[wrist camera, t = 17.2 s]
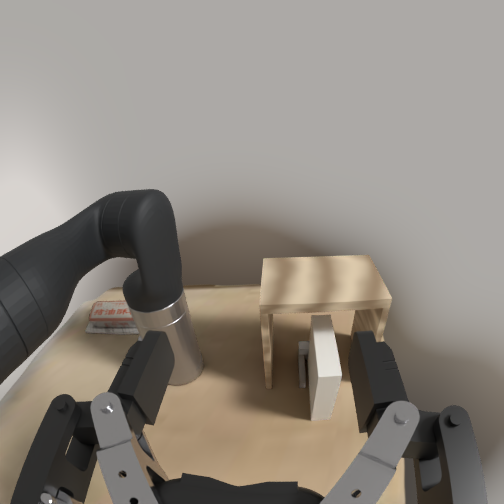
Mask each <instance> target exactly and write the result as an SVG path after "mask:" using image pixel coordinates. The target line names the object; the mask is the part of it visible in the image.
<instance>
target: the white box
mask: <svg viewBox="0 0 504 504" xmlns="http://www.w3.org/2000/svg"><path fill="white" fill-rule="evenodd" d="M308 378H309V393H310V410H311V421H315V420H329V419H330V418H331V415H332V411H333V408H334V404H335V401H336V397H337V393H338V390H339V386H340V382H341V378H342V372H341V366H340V361H339V355H338V350H337V345H336V340H335V334H334V329H333V325H332V320H331V315H312V316H311V328H310V342H309V354H308Z"/></svg>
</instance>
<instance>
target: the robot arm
mask: <svg viewBox="0 0 504 504" xmlns="http://www.w3.org/2000/svg"><path fill="white" fill-rule="evenodd" d="M115 257H124V258H134V259H136V260H137V263H138V267H139V269H138V270H136V271H135V272H133V273H132V274H131V275H129V277H127V279H126V280H125V282H124V284H123V294H124V297H125V300H126V302H127V305H128V307H129V310H130V312H131V315H132V318H133V320H134V322H135V325H136V327H137V330H138V332H139V334H140V336H139V338H138V341H137V342H136V343H135V344H134V345H133V346H132V347H131V348H130V349H129V351H128V353H127V355H126V358H125V359H124V360H123V362H122V366H120V368H119V370H118V372H117V374H116V376H115V378H114V380H113V382H112V384H111V386H110V388H109V390H108V392H106V393H102V394H99V395H98V396H96V397H95V398H94V399H93V401H86V402H76V401H75V400H74V399H73V398H72V397H71V396H70V395H67V394H62V395H59V396H57V397H56V398H54V399H53V401H52V402H51V404H50V406H49V408H48V410H47V412H46V414H45V417H44V419H43V421H42V423H41V425H40V427H39V429H38V432H37V434H36V436H35V438H34V441H33V443H32V445H31V448H30V450H29V453H28V455H27V458H26V460H25V463H24V465H23V468H22V470H21V473H20V476H19V479H18V481H17V484H16V487H15V490H14V493H13V496H12V499H11V503H10V504H84V502H85V498H86V495H87V491H88V488H89V484H90V481H91V477H92V474H93V471H94V468H95V464H96V461H97V458H98V462H99V465H100V468H101V471H102V474H103V477H104V480H105V483H106V486H107V488H108V491H109V494H110V496H111V499H112V501H113V504H376V502H377V501H378V500H379V498H380V497H381V495H382V493H383V492H384V490H385V489H386V487H387V486H388V484H389V482H390V481H391V479H392V477H393V476H394V474H395V472H396V466H397V464H398V462H399V460H400V458H413V460H414V468H415V477H416V487H417V499H418V504H488V501H487V494H486V487H485V481H484V475H483V471H482V465H481V460H480V456H479V452H478V447H477V444H476V440H475V436H474V432H473V429H472V425H471V421H470V418H469V415H468V413H467V412H466V410H465V409H463V408H462V407H460V406H456V405H453V406H449V407H447V408H445V409H444V410H443V411H442V412H441V413H436V412H424V411H420V410H418V409H417V408H416V407H415V406H414V405H413V404H412V403H410V402H409V401H408V398H407V395H406V392H405V389H404V386H403V382H402V379H401V376H400V373H399V370H398V367H397V364H396V362H395V358H394V355H393V352H392V350H391V349H390V347H389V346H388V345H387V344H386V343H385V342H376V339H375V336H374V333H373V331H372V330H370V331H358V332H354V335H353V340H352V344H351V349H350V353H349V360H348V365H349V373H350V378H351V383H352V389H353V395H354V401H355V407H356V413H357V419H358V426H359V433H364V432H367V433H368V440H367V442H366V443H365V445H364V446H363V448H362V449H361V451H360V452H359V453H358V455H357V456H356V458H355V459H354V461H353V462H352V463H351V465H350V466H349V467H348V469H347V470H346V472H345V473H344V474H343V476H342V477H341V478H340V479H339V481H338V482H337V483H336V485H335V486H334V487H333V488H332V490H331V491H330V492H329V493H328V494H327V496H326V497H323V496H322V495H320V494H319V493H317V492H315V491H312V490H310V489H307V488H303V487H298V482H264V483H259V484H253V485H246V486H234V485H230V484H227V483H224V482H221V481H219V480H216V479H213V478H210V477H204V476H198V475H191V474H186V473H182V477H181V478H178V479H172V480H169V479H168V477H167V475H166V474H165V472H164V471H163V469H162V468H161V467H160V465H159V463H158V461H157V459H156V457H155V455H154V453H153V451H152V449H151V446H150V444H149V442H148V440H147V437H146V435H145V432H144V431H143V428H144V425H145V424H149V425H154V423H155V420H156V417H157V414H158V411H159V408H160V405H161V403H162V400H163V397H164V394H165V391H166V388H167V385H168V384H170V385H184V384H187V383H190V382H192V381H193V380H195V379H196V378H197V377H198V376H199V375H200V374H201V372H202V370H203V366H204V363H203V359H202V355H201V352H200V348H199V345H198V341H197V338H196V334H195V331H194V327H193V324H192V320H191V316H190V313H189V309H188V305H187V301H186V297H185V293H184V289H183V285H182V278H181V277H182V265H181V257H180V252H179V245H178V239H177V231H176V224H175V218H174V213H173V209H172V206H171V203H170V201H169V200H168V198H167V197H166V195H165V194H164V193H163V192H161V191H159V190H154V189H148V190H133V191H121V192H115V193H112V194H109V195H107V196H105V197H103V198H101V199H99V200H98V201H96V202H95V203H93V204H92V205H90V206H89V207H87V208H86V209H84V210H83V211H81V212H80V213H79V214H77V215H76V216H74V217H73V218H71V219H70V220H68V221H67V222H65V223H64V224H62V225H60V226H58V227H56V228H54V229H52V230H50V231H48V232H45V233H43V234H41V235H39V236H37V237H35V238H33V239H31V240H29V241H27V242H25V243H24V244H22V245H20V246H18V247H17V248H15V249H13V250H11V251H10V252H8V253H6V254H4V255H3V256H1V257H0V384H1V383H2V382H3V381H4V380H5V379H6V378H7V377H8V376H9V375H10V374H11V373H12V372H13V371H14V370H15V369H16V368H17V367H19V366H20V365H21V364H22V363H23V362H24V361H25V360H26V359H27V358H28V357H29V356H30V355H31V354H32V353H33V352H34V351H35V350H36V349H37V348H38V347H39V346H40V345H41V344H42V343H43V342H44V341H45V340H46V339H48V338H49V337H50V336H51V334H52V333H53V332H54V331H55V330H56V329H57V327H58V326H59V324H60V323H61V321H62V319H63V317H64V315H65V313H66V311H67V309H68V306H69V303H70V301H71V298H72V295H73V293H74V290H75V288H76V286H77V284H78V282H79V280H81V278H82V277H83V276H84V275H85V274H87V273H88V272H89V271H91V270H92V269H93V268H95V267H96V266H98V265H99V264H101V263H103V262H104V261H106V260H108V259H111V258H115ZM72 436H73V438H72V440H71V443H70V445H69V448H68V451H67V453H66V450H67V447H68V444H69V442H70V439H71V437H72ZM65 453H66V456H65Z"/></svg>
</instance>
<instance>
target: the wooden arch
mask: <svg viewBox="0 0 504 504" xmlns="http://www.w3.org/2000/svg"><path fill="white" fill-rule="evenodd" d="M391 301H392V298H391V295H390V294H389V292H388V289H387V288H386V286H385V284H384V282H383V280H382V278H381V276H380V274H379V272H378V270H377V269H376V267H375V265H374V263H373V261H372V259H371V258H370V256H369V255H354V256H326V257H325V256H324V257H294V258H264V260H263V270H262V281H261V292H260V303H259V307H260V320H261V332H262V345H263V358H264V371H265V383H266V389H272V372H273V345H274V336H273V314H282V313H312V312H333V311H350V310H355V315H354V321H353V326H352V331H351V340H353V335H354V332H358V331H370V330H372V331H373V333H374V336H375V339H376V342H381V338H382V335H383V331H384V328H385V324H386V321H387V316H388V313H389V309H390V305H391ZM309 342H310V341H299V350H298V354H299V355H298V365H299V388H305V386H306V377H305V361H304V360H308V354H309Z"/></svg>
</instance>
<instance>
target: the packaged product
mask: <svg viewBox="0 0 504 504" xmlns="http://www.w3.org/2000/svg"><path fill="white" fill-rule="evenodd" d="M89 321H90V322H89V324H88V326H87V327H86V330H85V332H86V333H101V334H102V333H103V334H123V335H125V334H139V332H138V330H137V327H136V325H135V322H134V320H133V318H132V315H131V312H130V310H129V307H128V305H127V302H126V301H98V302H96V303H94V304H93V306H92V309H91V313H90V315H89Z"/></svg>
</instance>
